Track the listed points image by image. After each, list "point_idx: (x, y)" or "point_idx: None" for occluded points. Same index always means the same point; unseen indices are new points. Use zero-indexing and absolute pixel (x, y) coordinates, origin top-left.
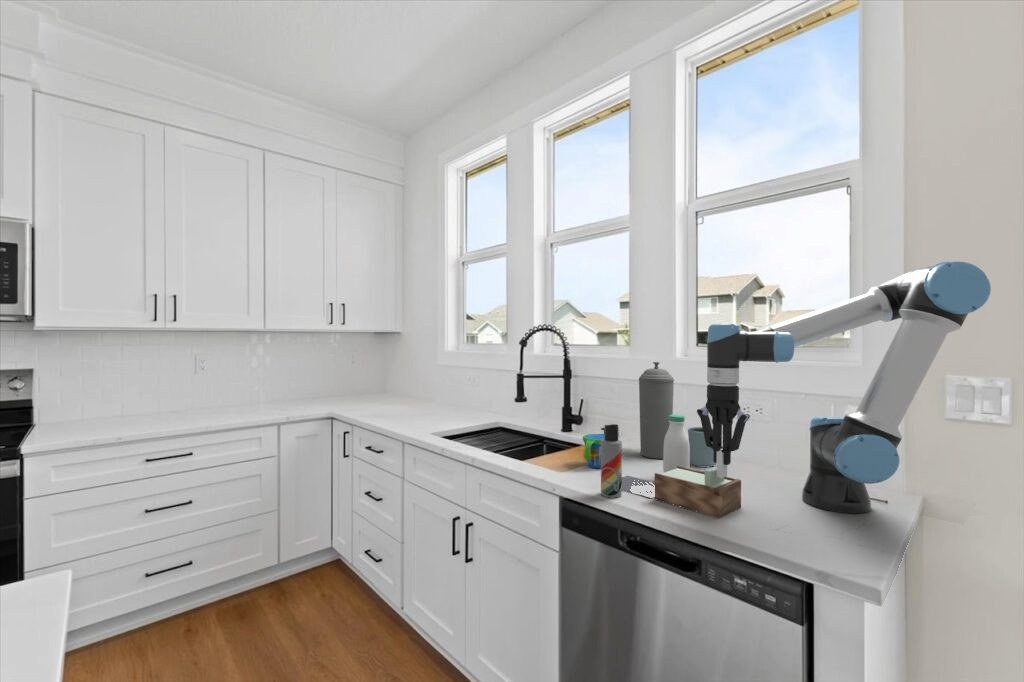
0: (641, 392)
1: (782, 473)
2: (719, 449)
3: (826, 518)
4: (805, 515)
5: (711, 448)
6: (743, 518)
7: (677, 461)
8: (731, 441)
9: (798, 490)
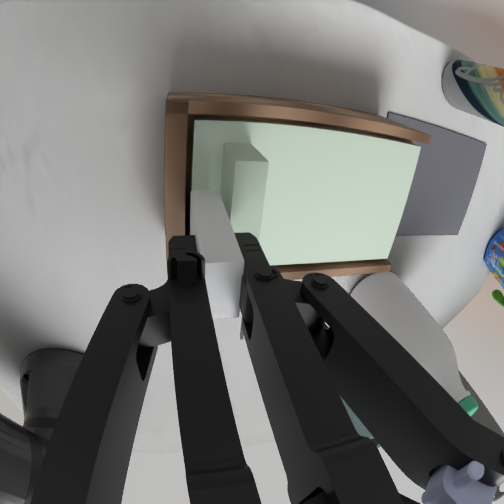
0: (502, 433)
1: None
2: (241, 297)
3: (23, 309)
4: (49, 296)
5: None
6: (117, 155)
7: (395, 312)
8: (132, 339)
9: (151, 400)
